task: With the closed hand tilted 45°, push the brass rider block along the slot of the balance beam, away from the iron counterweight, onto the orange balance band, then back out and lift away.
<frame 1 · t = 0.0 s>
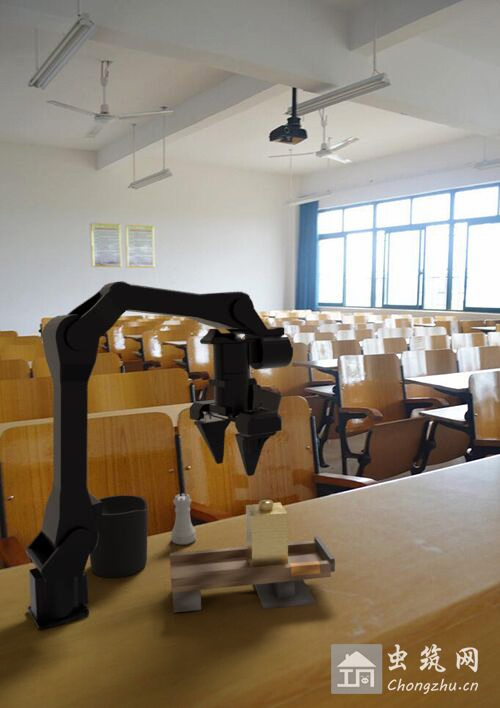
hand: (234, 469, 91), 15 cm above the table, tool pointing down, fingers open, 9 cm apart
pen holder: (119, 567, 90), on the table
balance beam: (281, 590, 81), on the table
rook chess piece: (183, 541, 100), on the table
brass rider: (267, 564, 80), point 4 cm above the table, touching balance beam
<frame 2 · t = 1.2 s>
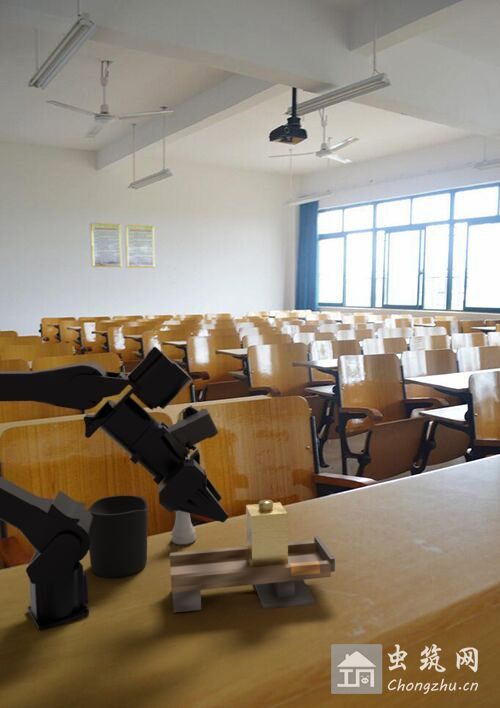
hand: (222, 509, 79), 12 cm above the table, tool tilted 45°, fingers open, 8 cm apart
nothing on the table moved.
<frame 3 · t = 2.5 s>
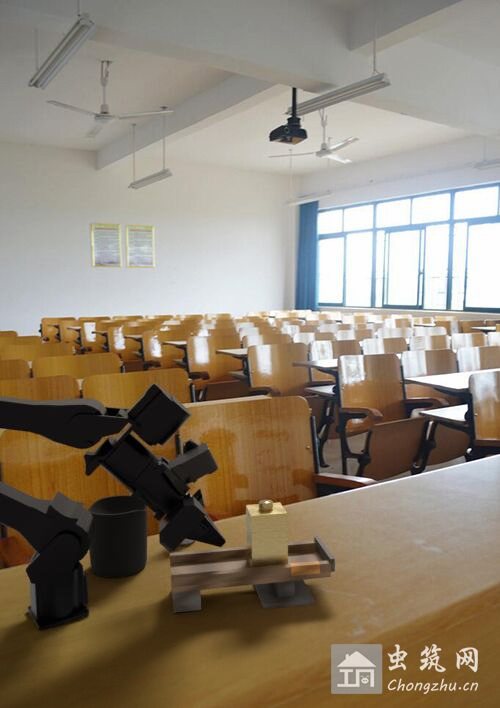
hand: (223, 543, 79), 8 cm above the table, tool tilted 45°, fingers closed
nothing on the table moved.
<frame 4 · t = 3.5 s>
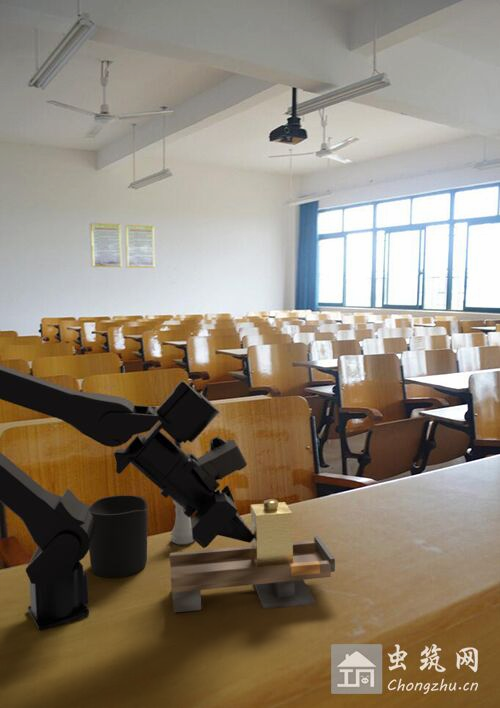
hand: (252, 539, 80), 8 cm above the table, tool tilted 45°, fingers closed, pressing on brass rider
brass rider: (272, 564, 80), point 4 cm above the table, touching balance beam, gripper
everything else where it was.
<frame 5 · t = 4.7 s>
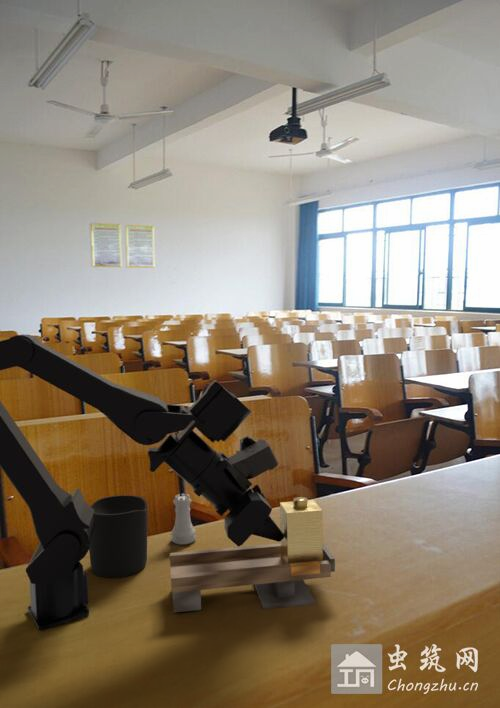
hand: (281, 538, 80), 8 cm above the table, tool tilted 45°, fingers closed, pressing on brass rider
brass rider: (301, 561, 81), point 4 cm above the table, touching balance beam, gripper
everything else where it was.
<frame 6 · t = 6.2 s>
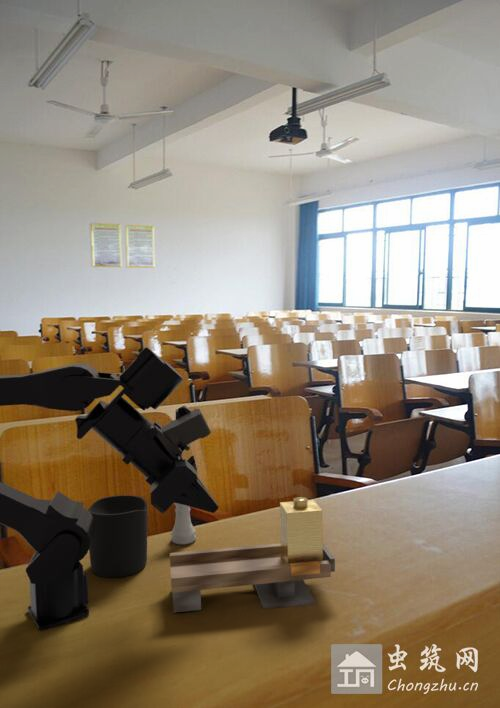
hand: (216, 509, 79), 12 cm above the table, tool tilted 45°, fingers closed
brass rider: (301, 561, 81), point 4 cm above the table, touching balance beam
everything else where it was.
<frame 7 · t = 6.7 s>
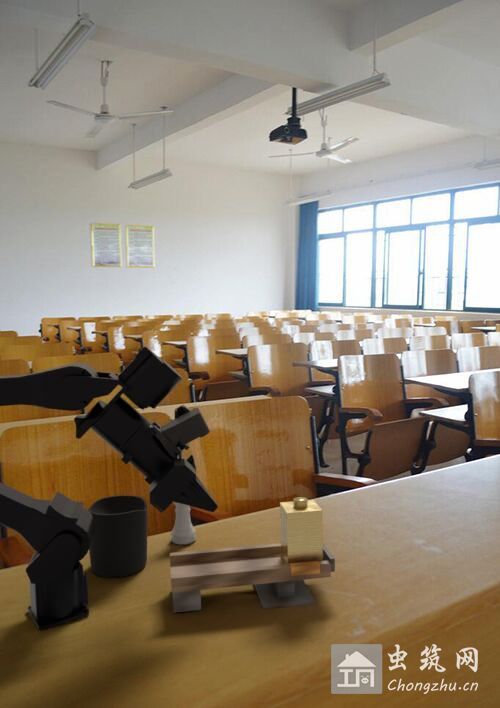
hand: (215, 508, 79), 13 cm above the table, tool tilted 45°, fingers closed
nothing on the table moved.
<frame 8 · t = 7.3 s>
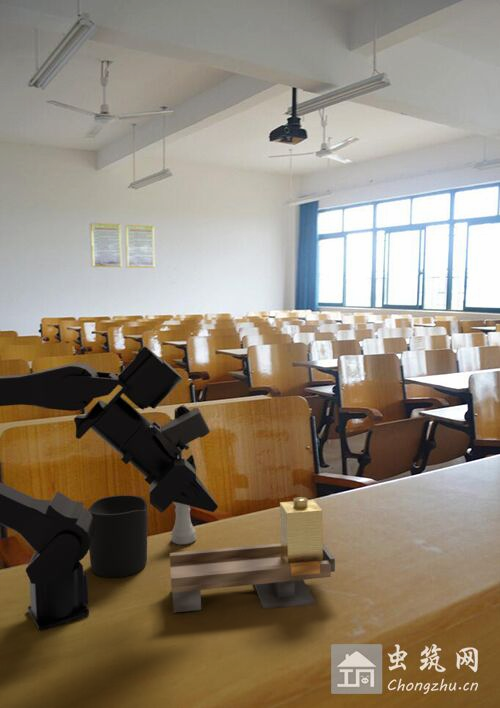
hand: (215, 508, 79), 13 cm above the table, tool tilted 45°, fingers closed
nothing on the table moved.
at the end: brass rider 0.7 cm from the target spot on the balance beam, point 4.0 cm above the balance beam's base; brass rider tilted 0°; the gripper is holding nothing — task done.
